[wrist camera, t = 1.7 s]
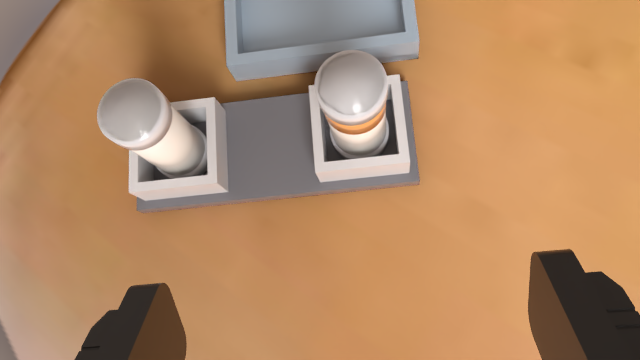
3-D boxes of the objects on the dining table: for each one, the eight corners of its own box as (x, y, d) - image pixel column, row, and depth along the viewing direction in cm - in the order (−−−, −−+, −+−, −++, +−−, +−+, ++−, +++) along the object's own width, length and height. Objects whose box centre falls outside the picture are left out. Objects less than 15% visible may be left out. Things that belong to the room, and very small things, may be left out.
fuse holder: (406, 86, 39) (408, 64, 36) (419, 184, 37) (421, 170, 34) (143, 118, 41) (121, 100, 38) (143, 213, 39) (119, 202, 36)
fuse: (212, 126, 39) (163, 74, 31) (213, 179, 38) (164, 139, 30) (159, 132, 40) (97, 82, 31) (159, 184, 39) (96, 147, 30)
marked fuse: (385, 105, 38) (383, 45, 30) (391, 159, 37) (391, 113, 29) (329, 112, 38) (311, 54, 30) (334, 166, 37) (317, 121, 29)
